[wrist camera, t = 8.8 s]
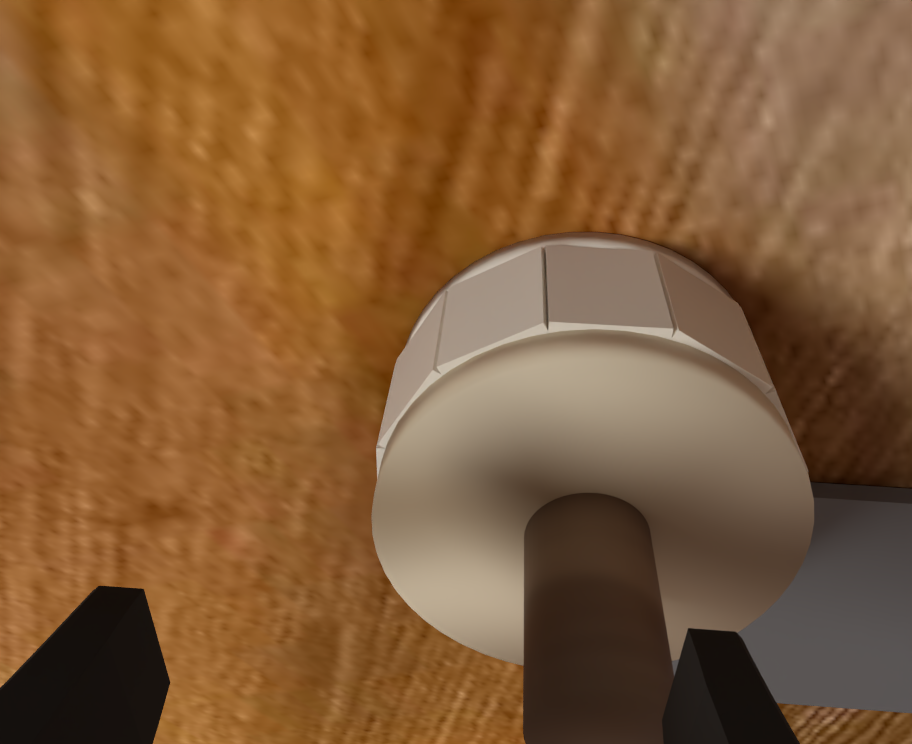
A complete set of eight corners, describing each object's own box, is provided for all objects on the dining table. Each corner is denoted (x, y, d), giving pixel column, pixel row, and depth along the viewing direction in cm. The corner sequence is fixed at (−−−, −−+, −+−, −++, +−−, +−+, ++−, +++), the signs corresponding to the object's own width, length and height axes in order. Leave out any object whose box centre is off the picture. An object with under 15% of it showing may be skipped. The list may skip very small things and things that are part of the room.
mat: (919, 697, 27) (927, 714, 27) (643, 676, 28) (646, 692, 27) (1035, 496, 22) (1046, 512, 22) (694, 474, 23) (698, 489, 22)
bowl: (717, 529, 24) (747, 647, 20) (402, 508, 24) (383, 621, 21) (799, 242, 19) (857, 339, 15) (397, 221, 19) (371, 311, 16)
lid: (762, 642, 20) (828, 879, 16) (396, 632, 21) (362, 855, 17) (843, 328, 15) (973, 549, 11) (356, 329, 16) (291, 536, 12)
